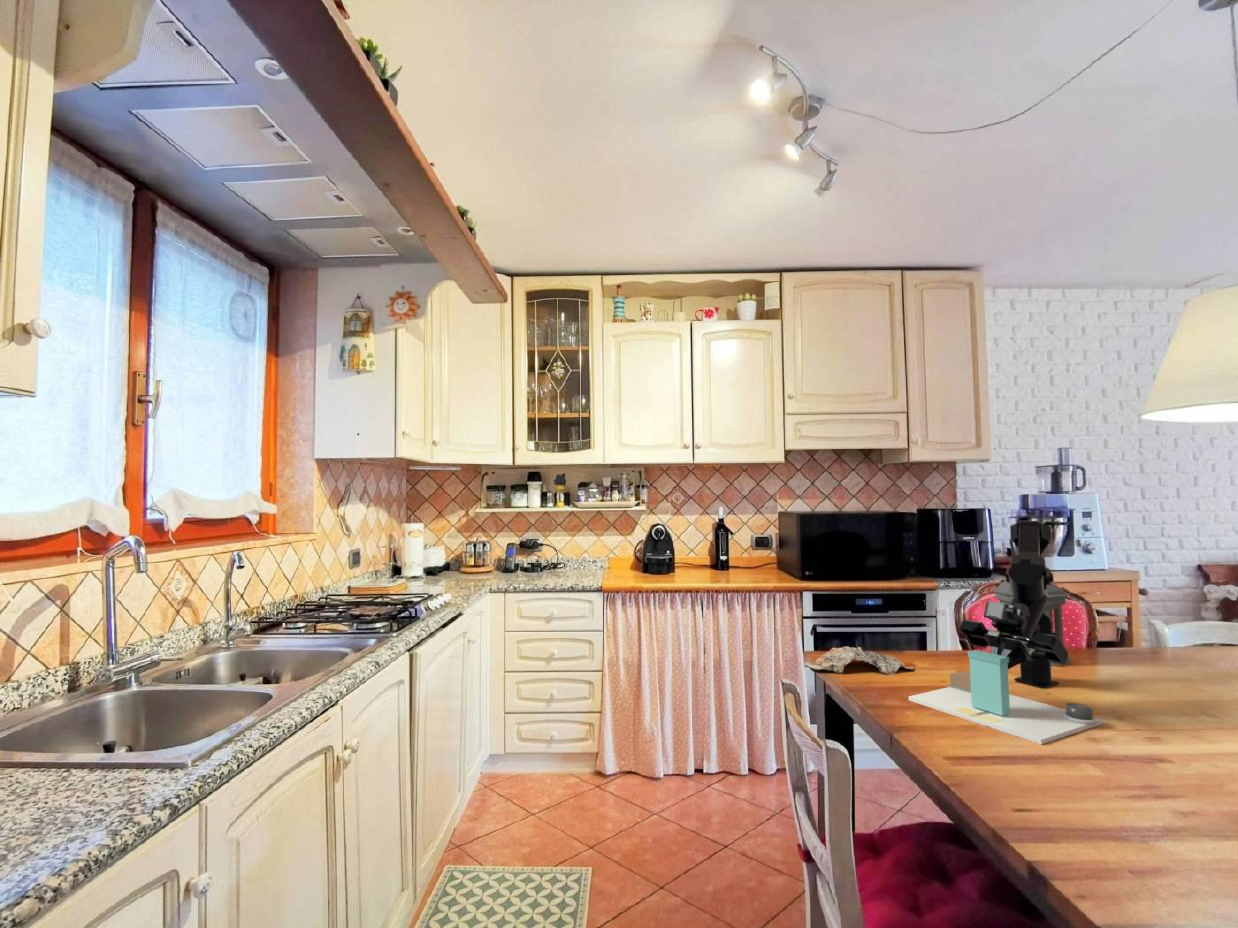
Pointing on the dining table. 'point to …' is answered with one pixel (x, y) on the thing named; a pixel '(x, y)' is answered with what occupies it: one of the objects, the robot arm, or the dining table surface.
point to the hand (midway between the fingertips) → (994, 674)
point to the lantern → (1054, 602)
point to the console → (1024, 714)
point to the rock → (843, 656)
